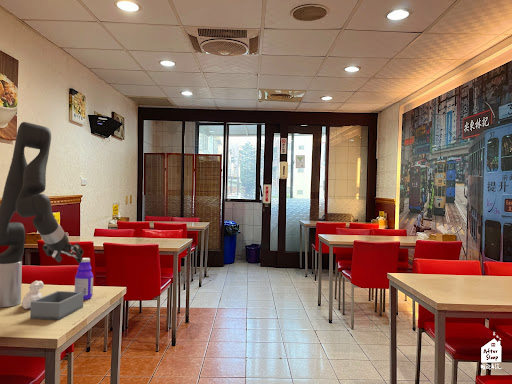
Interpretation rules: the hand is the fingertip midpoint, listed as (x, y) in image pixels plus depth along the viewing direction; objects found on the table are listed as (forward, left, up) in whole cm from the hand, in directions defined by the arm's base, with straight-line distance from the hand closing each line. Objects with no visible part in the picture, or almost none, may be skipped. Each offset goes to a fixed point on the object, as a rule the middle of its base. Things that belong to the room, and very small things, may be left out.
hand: (70, 260), depth 153 cm
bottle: (0, +11, -18) cm, 21 cm away
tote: (+1, -9, -18) cm, 20 cm away
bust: (-14, -3, -18) cm, 23 cm away
